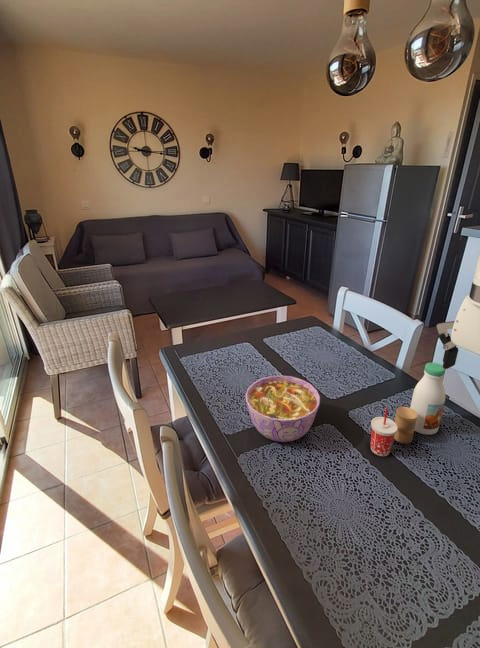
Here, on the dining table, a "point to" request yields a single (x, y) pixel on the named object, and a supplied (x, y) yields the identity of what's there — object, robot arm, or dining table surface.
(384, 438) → the beverage cup
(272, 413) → the bowl of food
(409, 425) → the cylinder
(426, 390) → the milk bottle
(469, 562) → the dining table surface
